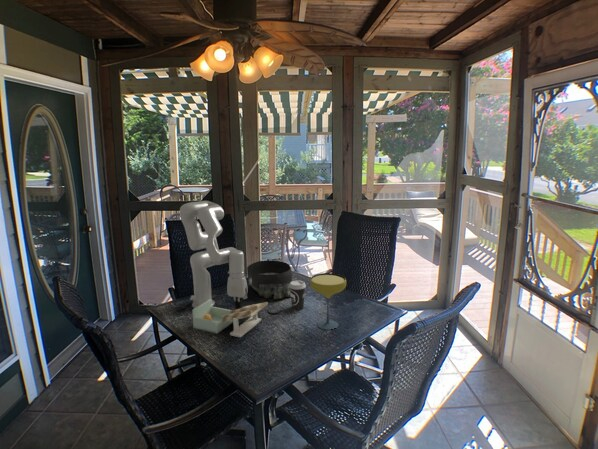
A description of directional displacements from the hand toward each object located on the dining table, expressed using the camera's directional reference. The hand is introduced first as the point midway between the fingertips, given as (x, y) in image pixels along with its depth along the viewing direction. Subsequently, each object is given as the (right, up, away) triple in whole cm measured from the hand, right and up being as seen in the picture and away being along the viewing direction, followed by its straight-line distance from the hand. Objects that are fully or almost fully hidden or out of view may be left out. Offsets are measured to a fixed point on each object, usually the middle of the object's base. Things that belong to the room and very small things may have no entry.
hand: (238, 307), depth 198 cm
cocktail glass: (+46, -8, -4) cm, 47 cm away
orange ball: (-16, -5, -1) cm, 17 cm away
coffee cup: (+31, -4, +17) cm, 36 cm away
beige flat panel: (+5, -1, -7) cm, 9 cm away
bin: (-12, -8, -2) cm, 15 cm away
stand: (+5, -9, -5) cm, 11 cm away
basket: (+13, +1, +43) cm, 45 cm away
